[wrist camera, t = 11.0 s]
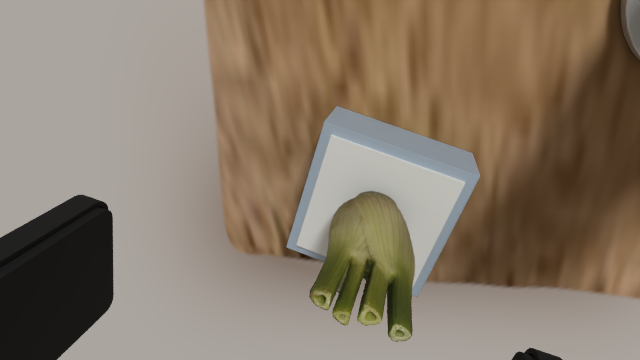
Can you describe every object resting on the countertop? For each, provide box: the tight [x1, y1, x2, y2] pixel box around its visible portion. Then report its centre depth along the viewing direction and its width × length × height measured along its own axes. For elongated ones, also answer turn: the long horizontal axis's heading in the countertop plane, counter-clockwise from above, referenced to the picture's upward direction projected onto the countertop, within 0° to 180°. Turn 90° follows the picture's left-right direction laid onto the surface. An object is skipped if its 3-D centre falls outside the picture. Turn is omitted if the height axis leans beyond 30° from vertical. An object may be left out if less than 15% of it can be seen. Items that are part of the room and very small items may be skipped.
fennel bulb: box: [310, 191, 415, 342], centre depth 27 cm, size 6×5×12 cm
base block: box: [287, 106, 480, 297], centre depth 35 cm, size 12×12×5 cm
